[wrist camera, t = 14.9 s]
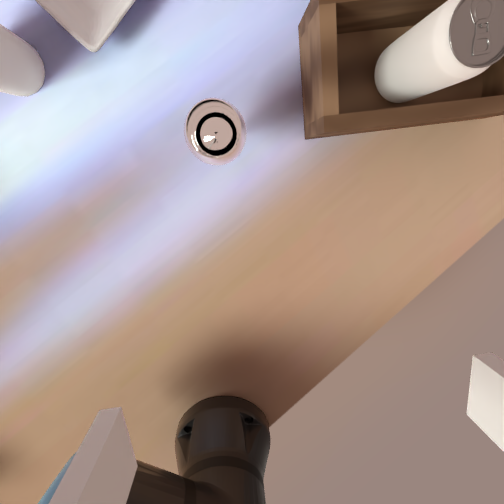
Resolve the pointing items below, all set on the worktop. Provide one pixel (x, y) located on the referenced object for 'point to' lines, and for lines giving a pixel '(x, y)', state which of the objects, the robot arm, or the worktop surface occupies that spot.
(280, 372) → the worktop surface
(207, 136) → the wineglass
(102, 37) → the tray
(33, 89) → the white cup
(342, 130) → the narrow open box
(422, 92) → the can
